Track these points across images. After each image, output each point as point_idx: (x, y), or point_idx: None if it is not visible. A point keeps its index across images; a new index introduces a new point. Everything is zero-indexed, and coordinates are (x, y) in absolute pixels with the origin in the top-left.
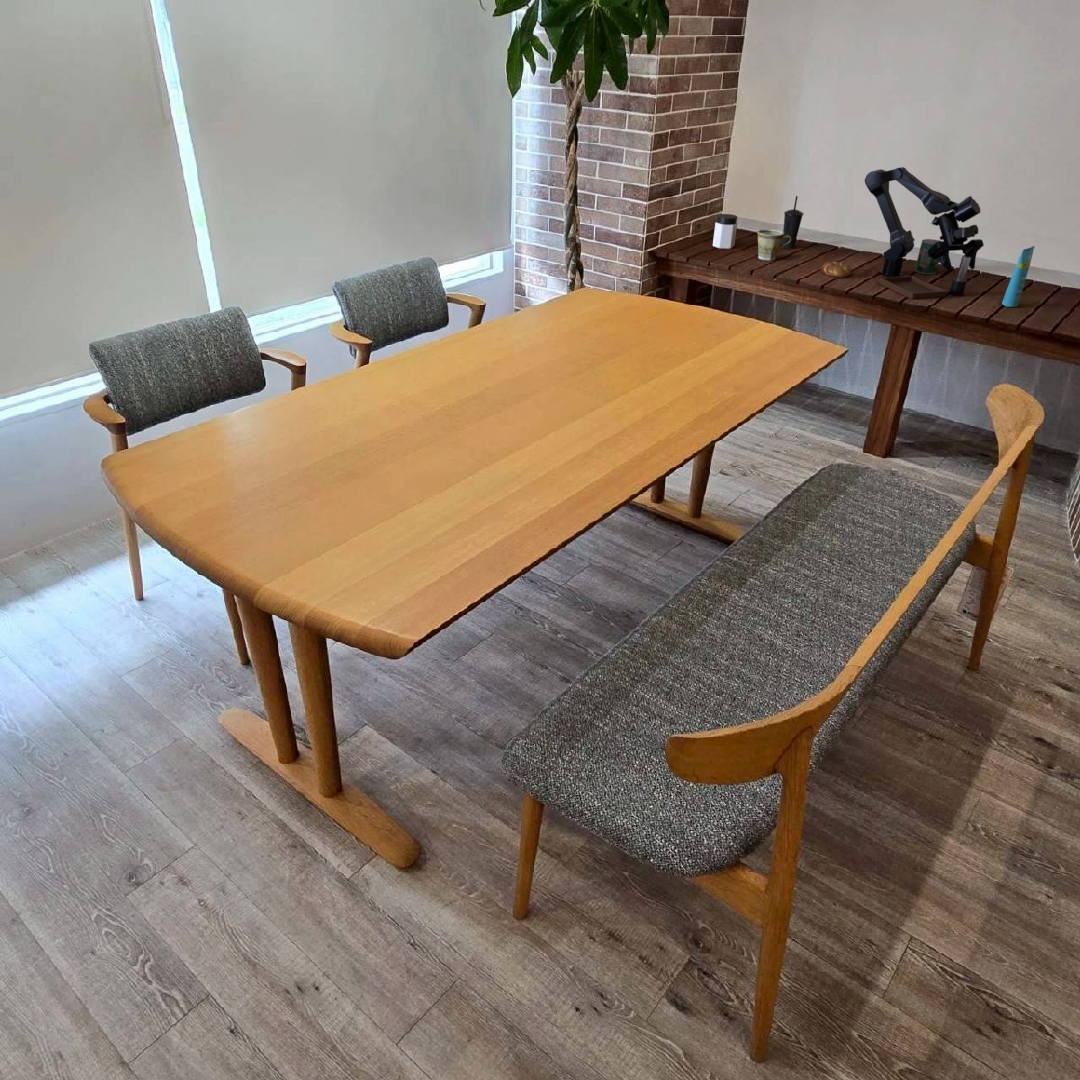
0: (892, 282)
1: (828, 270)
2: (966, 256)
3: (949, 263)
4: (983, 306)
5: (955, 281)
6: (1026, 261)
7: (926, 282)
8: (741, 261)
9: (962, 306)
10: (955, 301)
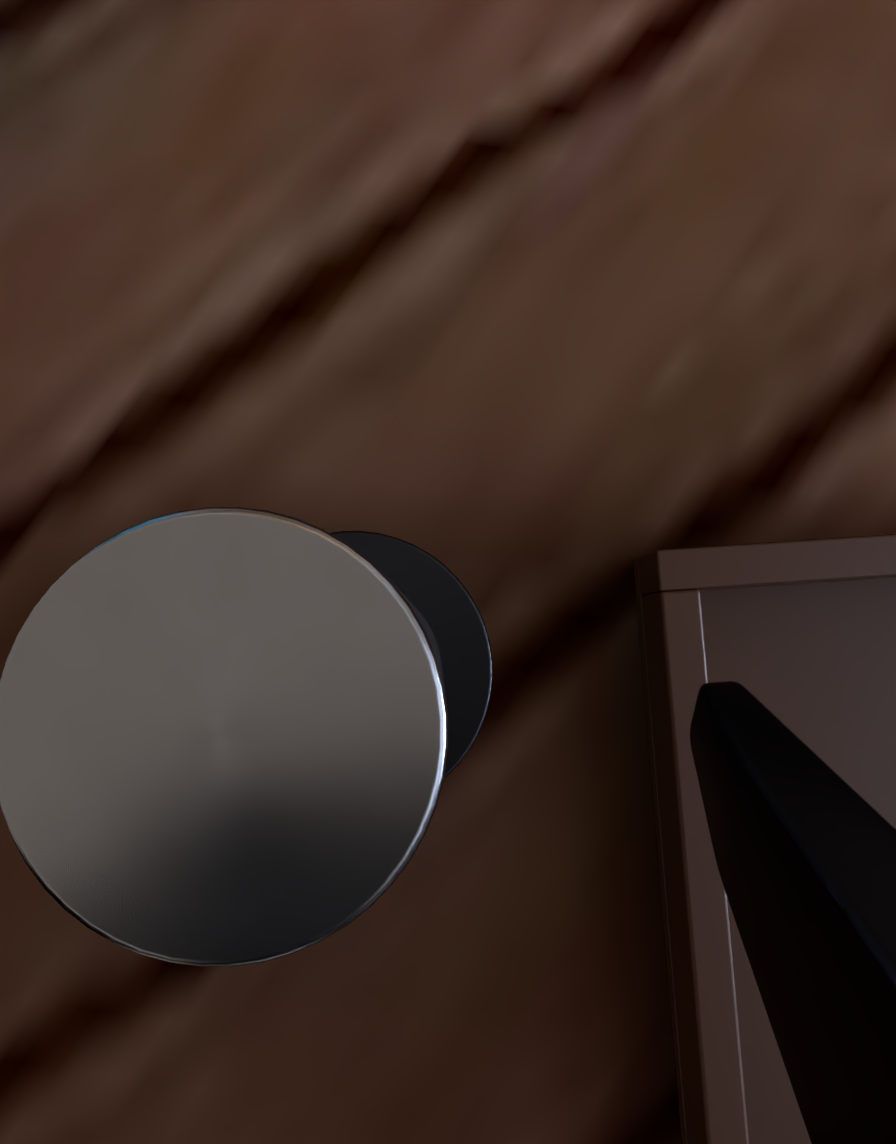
0: None
1: None
2: (223, 758)
3: (860, 829)
4: (331, 39)
5: (484, 634)
6: None
7: (730, 1123)
8: None
9: (651, 87)
10: (610, 321)
